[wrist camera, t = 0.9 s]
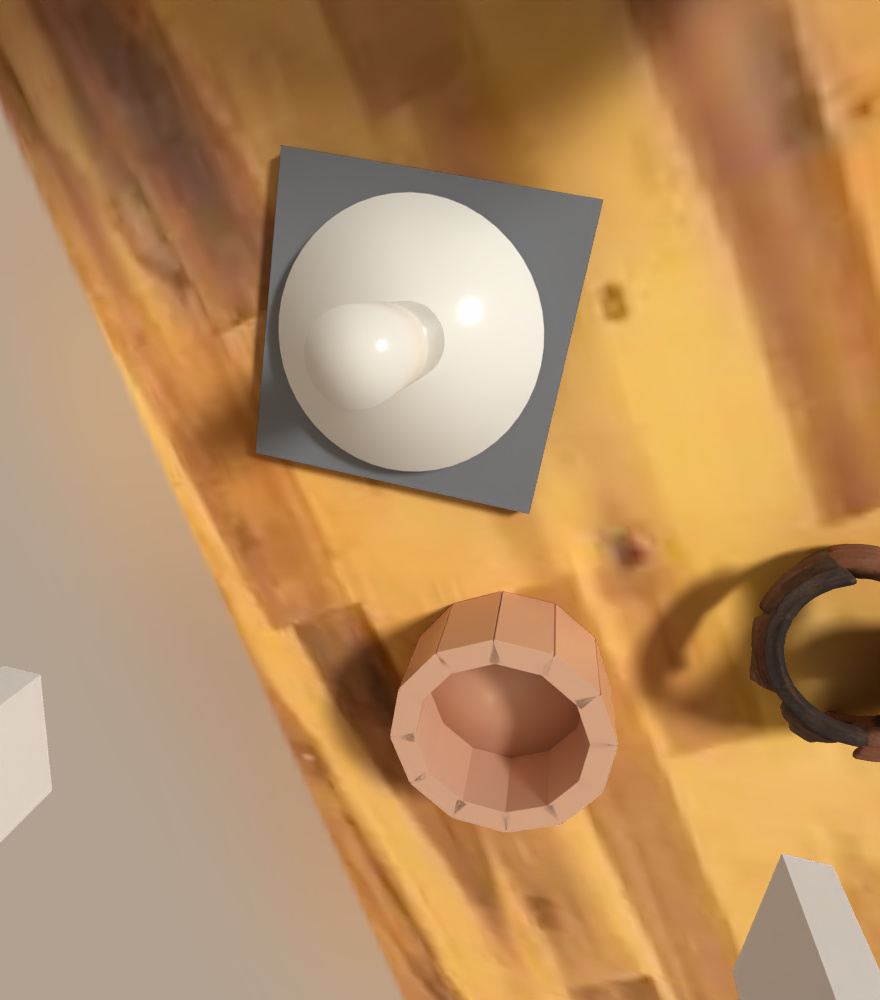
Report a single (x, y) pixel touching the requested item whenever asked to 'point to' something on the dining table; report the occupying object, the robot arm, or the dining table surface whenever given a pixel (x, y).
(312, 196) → the mat
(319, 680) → the dining table surface
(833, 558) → the broken pottery
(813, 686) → the dining table surface
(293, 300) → the lid
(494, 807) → the bowl
